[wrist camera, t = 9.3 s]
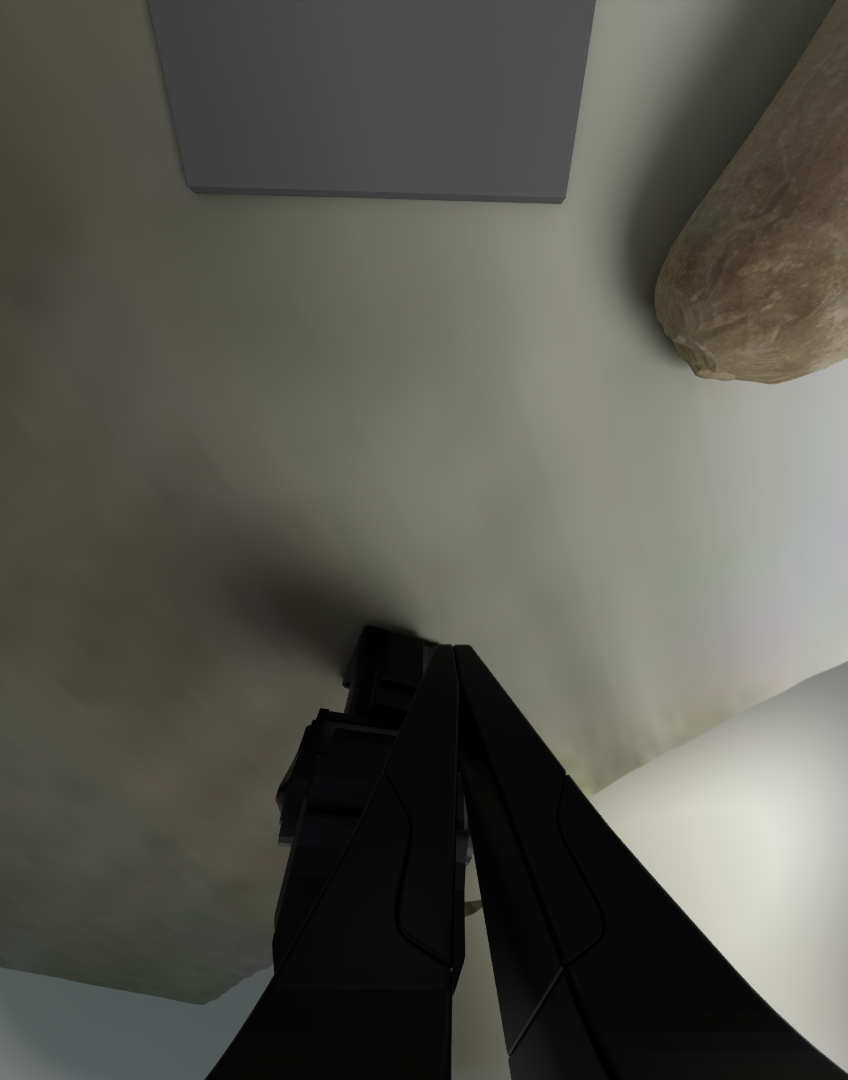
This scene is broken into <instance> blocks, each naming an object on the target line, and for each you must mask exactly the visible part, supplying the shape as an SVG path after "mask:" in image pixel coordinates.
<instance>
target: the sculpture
mask: <svg viewBox="0 0 848 1080" xmlns="http://www.w3.org/2000/svg"><path fill="white" fill-rule="evenodd" d="M654 302H655V310H656V315H657V320H658V322H659V323H660V324H662V325H663V330H664V334H665V335H666V336H667V337H668V338H670V339H671V340H672V341H673V342H674V346H675V349H676V352H677V353H678V354H679V356H680V357H681V358H682V359H683V360H685V361H686V362H687V363H688V364H689V365H690V367H691V369H692V371H693V372H694V374H695V375H696V376H698V377H701V378H703V379H717V380H722V381H729V380H743V381H755V382H759V383H766V384H777V383H781V382H785V381H789V380H792V379H796V378H799V377H801V376H804V375H807V374H810V373H813V372H816V371H818V370H821V369H824V368H827V367H829V366H831V365H833V364H835V363H837V362H839V361H841V360H843V359H845V358H848V0H835V2H834V4H833V5H832V7H831V9H830V11H829V12H828V14H827V16H826V17H825V19H824V21H823V22H822V24H821V25H820V27H819V29H818V30H817V32H816V34H815V35H814V37H813V38H812V40H811V42H810V43H809V45H808V46H807V48H806V50H805V51H804V53H803V54H802V56H801V58H800V59H799V61H798V62H797V64H796V65H795V67H794V68H793V70H792V71H791V73H790V75H789V76H788V78H787V79H786V81H785V82H784V84H783V85H782V87H781V88H780V90H779V91H778V93H777V94H776V96H775V97H774V99H773V100H772V102H771V103H770V104H769V106H768V107H767V109H766V110H765V112H764V113H763V115H762V116H761V118H760V119H759V121H758V122H757V124H756V125H755V127H754V128H753V130H752V131H751V132H750V134H749V135H748V137H747V138H746V140H745V141H744V142H743V144H742V145H741V147H740V148H739V150H738V151H737V152H736V154H735V155H734V157H733V158H732V160H731V161H730V162H729V164H728V165H727V167H726V168H725V170H724V171H723V172H722V174H721V175H720V177H719V178H718V179H717V181H716V182H715V183H714V185H713V186H712V188H711V189H710V190H709V192H708V193H707V195H706V196H705V197H704V199H703V200H702V201H701V203H700V204H699V206H698V207H697V208H696V210H695V211H694V213H693V214H692V215H691V217H690V218H689V220H688V222H687V223H686V225H685V226H684V228H683V229H682V231H681V232H680V234H679V235H678V237H677V239H676V240H675V242H674V243H673V245H672V246H671V248H670V250H669V252H668V254H667V256H666V259H665V261H664V263H663V265H662V268H661V271H660V273H659V276H658V279H657V282H656V285H655V296H654Z"/></svg>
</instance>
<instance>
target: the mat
mask: <svg viewBox="0 0 848 1080" xmlns="http://www.w3.org/2000/svg"><path fill="white" fill-rule="evenodd" d="M595 3H596V0H148V4H149V9H150V13H151V18H152V23H153V27H154V32H155V37H156V41H157V46H158V51H159V55H160V60H161V65H162V70H163V74H164V79H165V84H166V88H167V93H168V98H169V102H170V107H171V112H172V116H173V121H174V126H175V130H176V135H177V140H178V144H179V149H180V154H181V159H182V163H183V168H184V173H185V177H186V182H187V186H188V187H189V188H190V189H191V190H193V191H194V192H195V193H221V194H254V195H287V196H319V197H352V198H385V199H418V200H451V201H484V202H517V203H550V204H561V203H562V202H563V200H564V199H565V198H566V192H567V185H568V179H569V172H570V166H571V159H572V153H573V146H574V139H575V133H576V126H577V120H578V113H579V107H580V100H581V94H582V87H583V81H584V74H585V68H586V61H587V55H588V48H589V42H590V35H591V29H592V22H593V16H594V9H595Z"/></svg>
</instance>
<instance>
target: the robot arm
mask: <svg viewBox="0 0 848 1080" xmlns="http://www.w3.org/2000/svg"><path fill="white" fill-rule="evenodd" d="M367 632H371V633H367ZM342 685H343V686H344V687H345V688H348V689H350V690H349V694H348V698H347V702H346V706H345V710H344V713H339V712H332V711H329V709H323V708H320V711H319V713H318V716H317V718H316V720H313V721H312V724H311V725H309V726H307V727H306V729H305V732H304V735H303V738H302V741H301V744H300V747H299V749H298V752H297V754H296V756H295V758H294V760H293V762H292V764H291V766H290V768H289V769H288V771H287V773H286V775H285V777H284V779H283V780H282V782H281V784H280V786H279V789H278V792H277V795H276V803H277V805H278V807H279V810H280V812H281V817H280V825H281V828H280V833H279V840H278V846H282V847H291V851H290V855H289V859H288V863H287V867H286V871H285V875H284V879H283V883H282V887H281V891H280V895H279V899H278V903H277V907H276V912H275V918H274V927H275V933H274V937H273V942H272V949H273V962H274V973H275V974H274V976H273V977H272V979H271V981H270V983H269V984H268V986H267V988H266V989H265V991H264V993H263V994H262V996H261V998H260V999H259V1001H258V1002H257V1004H256V1006H255V1007H254V1009H253V1011H252V1012H251V1014H250V1015H249V1017H248V1018H247V1020H246V1022H245V1023H244V1024H243V1026H242V1028H241V1029H240V1031H239V1032H238V1034H237V1035H236V1037H235V1038H234V1040H233V1041H232V1043H231V1044H230V1045H229V1047H228V1048H227V1050H226V1051H225V1053H224V1054H223V1056H222V1057H221V1059H220V1060H219V1061H218V1063H217V1064H216V1065H215V1067H214V1068H213V1069H212V1071H211V1072H210V1073H209V1074H208V1076H207V1077H206V1078H205V1080H451V1044H452V1042H451V1041H452V1039H451V1038H452V996H453V994H454V992H455V989H456V986H457V982H458V979H459V976H460V973H461V969H462V966H463V963H464V959H465V913H464V889H465V888H464V887H465V867H466V866H467V865H468V864H469V863H470V860H471V858H472V855H473V852H474V858H475V864H476V870H477V876H478V881H479V888H480V894H481V900H482V906H483V912H484V918H485V924H486V929H487V935H488V942H489V947H490V953H491V959H492V965H493V971H494V977H495V983H496V988H497V995H498V1001H499V1007H500V1013H501V1019H502V1025H503V1031H504V1037H505V1043H506V1049H507V1054H508V1055H509V1056H510V1057H509V1067H510V1073H511V1079H512V1080H848V1073H846V1072H845V1071H844V1070H843V1069H841V1068H840V1067H839V1066H838V1065H836V1064H835V1063H834V1062H832V1061H831V1060H830V1059H829V1058H827V1057H826V1056H825V1055H824V1054H823V1053H822V1052H820V1051H819V1050H818V1049H817V1048H816V1047H814V1046H813V1045H812V1044H811V1043H810V1042H809V1041H808V1040H806V1039H805V1038H804V1037H803V1036H802V1035H801V1034H799V1033H798V1032H797V1031H796V1030H795V1029H794V1028H793V1027H792V1026H791V1025H789V1023H788V1022H787V1021H786V1020H785V1019H783V1018H782V1017H781V1016H780V1015H779V1014H778V1013H777V1012H776V1011H775V1010H774V1009H773V1008H772V1007H771V1006H770V1005H769V1004H768V1003H767V1002H766V1001H765V1000H764V999H763V998H762V997H761V996H760V995H759V994H758V993H757V992H756V991H755V990H754V989H753V988H752V987H751V986H750V985H749V984H748V982H747V981H746V980H745V979H744V978H743V977H742V976H741V975H740V974H739V973H738V972H737V970H735V968H734V967H733V966H732V965H731V964H730V963H729V962H728V960H727V959H726V958H725V957H724V956H723V955H722V954H721V953H720V951H719V950H718V949H717V948H716V947H715V946H714V945H713V944H712V942H710V940H709V939H708V938H707V937H706V936H705V935H704V933H703V932H702V931H701V930H700V929H699V928H698V927H697V926H696V924H695V923H694V922H693V921H692V920H691V919H690V918H689V917H688V915H687V914H686V913H685V912H684V911H683V910H682V909H681V908H680V906H679V905H678V904H677V903H676V902H675V901H674V900H673V899H672V897H671V896H670V895H669V894H668V893H667V892H666V891H665V890H664V889H663V888H662V886H661V885H660V884H659V883H658V882H657V881H656V879H654V877H653V876H652V875H651V874H650V873H649V872H648V870H647V869H646V868H645V867H644V866H643V865H642V864H641V863H640V861H639V860H638V859H637V858H636V857H635V856H634V854H633V853H632V852H631V851H630V850H629V849H628V848H627V846H626V845H625V844H624V843H623V842H622V841H621V839H620V838H619V837H618V836H617V835H616V834H615V833H614V831H613V830H612V829H611V828H610V827H609V826H608V824H607V823H606V822H605V821H604V819H603V818H602V817H601V815H600V814H599V813H598V812H597V811H596V809H595V808H594V806H593V805H592V804H591V803H590V801H589V800H588V799H587V798H586V796H585V795H584V794H583V793H582V791H581V790H580V789H579V787H578V786H577V785H576V783H575V782H574V781H573V779H572V778H571V777H570V775H566V770H565V769H564V768H563V766H562V765H561V764H560V762H559V761H558V760H557V758H556V757H555V756H554V754H553V753H552V752H551V751H550V749H549V748H548V747H547V745H546V744H545V743H544V741H543V740H542V739H541V737H540V736H539V735H538V733H537V732H536V731H535V729H534V728H533V727H532V726H531V724H530V723H529V722H528V720H527V719H526V718H525V716H524V715H523V714H522V712H521V711H520V710H519V708H518V707H517V706H516V705H515V703H514V702H513V701H512V699H511V698H510V697H509V695H508V694H507V693H506V691H505V690H504V689H503V687H502V686H501V685H500V683H499V682H498V681H497V680H496V678H495V677H494V676H493V674H492V673H491V672H490V670H489V669H488V668H487V666H486V665H485V664H484V662H483V661H482V660H481V659H480V657H479V656H478V655H477V653H476V652H475V651H474V649H473V648H472V647H471V646H470V645H454V647H453V646H452V645H451V644H438V645H434V644H431V643H428V642H424V641H421V640H417V639H414V638H411V637H407V636H404V635H401V634H397V633H394V632H390V631H387V630H384V629H380V628H377V627H374V626H365V627H364V628H363V630H362V633H361V635H360V638H359V640H358V643H357V646H356V648H355V651H354V653H353V656H352V658H351V661H350V664H349V666H348V669H347V671H346V674H345V676H344V679H343V683H342Z"/></svg>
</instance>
